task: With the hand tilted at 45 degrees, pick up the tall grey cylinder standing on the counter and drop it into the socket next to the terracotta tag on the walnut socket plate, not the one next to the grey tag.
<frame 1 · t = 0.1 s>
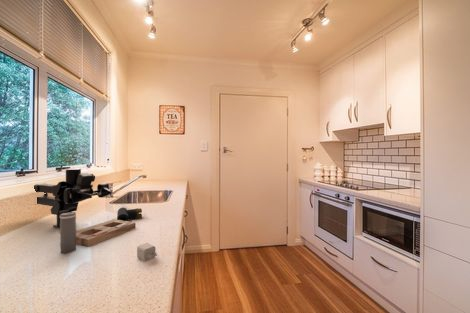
hand: (101, 194, 96), 17 cm above the countertop, tool horizontal, fingers open, 9 cm apart
socket plate: (102, 233, 95), on the countertop
pipe connector: (129, 219, 117), on the countertop
grey cylinder: (68, 250, 79), on the countertop
usb wall charger: (148, 259, 72), on the countertop
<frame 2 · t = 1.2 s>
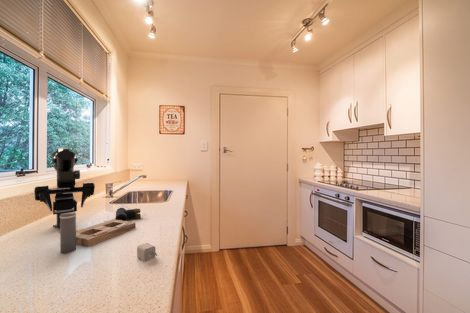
hand: (67, 208, 85), 13 cm above the countertop, tool tilted 45°, fingers open, 9 cm apart
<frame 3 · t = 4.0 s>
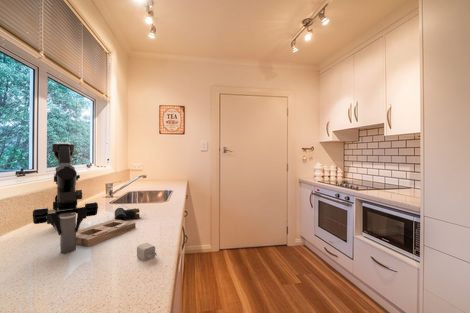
hand: (68, 233, 78), 7 cm above the countertop, tool tilted 45°, fingers closed on grey cylinder, 4 cm apart
grey cylinder: (68, 250, 79), on the countertop, touching gripper
when the fingers open (9 cm above the countertop, at t = 7.0 s): grey cylinder drops 3 cm, resting in socket plate.
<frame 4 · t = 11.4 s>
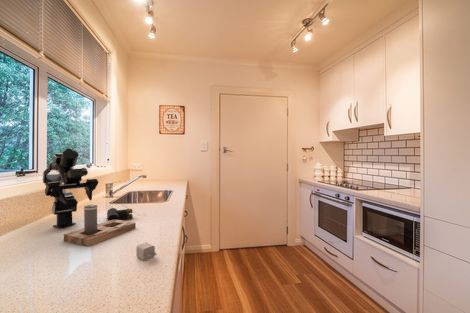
hand: (79, 201, 95), 14 cm above the countertop, tool tilted 45°, fingers open, 9 cm apart
pipe connector: (120, 220, 116), on the countertop
grey cylinder: (91, 238, 91), resting in socket plate
everything else where it was.
at the end: grey cylinder 0.1 cm from the target spot on the socket plate, point 0.0 cm above the socket plate's base; grey cylinder tilted 0°; the gripper is holding nothing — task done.
